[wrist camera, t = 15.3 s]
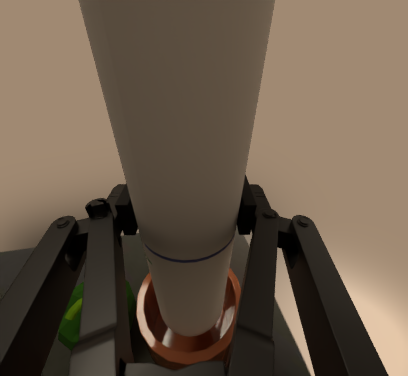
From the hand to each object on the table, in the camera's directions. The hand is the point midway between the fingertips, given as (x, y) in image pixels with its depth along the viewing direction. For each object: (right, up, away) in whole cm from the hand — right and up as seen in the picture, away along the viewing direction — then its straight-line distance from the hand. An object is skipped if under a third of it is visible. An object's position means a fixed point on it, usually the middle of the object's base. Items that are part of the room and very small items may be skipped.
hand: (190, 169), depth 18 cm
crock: (0, -22, +10) cm, 24 cm away
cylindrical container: (0, -14, +4) cm, 15 cm away
